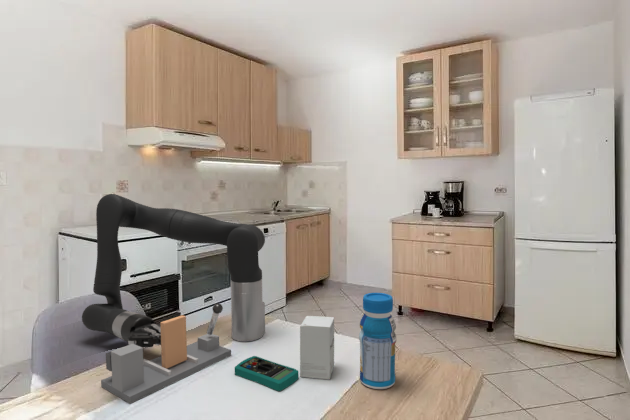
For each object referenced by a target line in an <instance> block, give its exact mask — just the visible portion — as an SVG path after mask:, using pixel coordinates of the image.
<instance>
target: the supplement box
mask: <svg viewBox="0 0 630 420" xmlns="http://www.w3.org/2000/svg"><path fill="white" fill-rule="evenodd" d="M299 342H300V343H299V350H300V351H299V366H300V367H299V372H300V373H299V375H300V377H299V378H310V379H319V380H330V379H331V376H332V372H333V370H334V367H335V317H334V316H322V315H321V316H318V315H316V316H315V315H306V316H305V317H304V319H303V321H302V323H301V324H300V325H299Z"/></svg>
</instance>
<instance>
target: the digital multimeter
mask: <svg viewBox="0 0 630 420" xmlns="http://www.w3.org/2000/svg"><path fill="white" fill-rule="evenodd" d="M234 375H235V376H237V377H240V378H244V379H246V380H249V381H251V382H254V383H256V384H259V385H262V386H264V387H267V388H269V389H271V390H273V391H277V392H281V391H283V390H284V389H286V388H288V387H290V386H291V385H292V384H294V383H295V382H296V381H297V380H298V379H299V378H300V377H299V370H298V369H296V368H294V367H292V366H291V367H290V366H287V365H283V364H280V363H278V362H274V361H272V360H268V359H266V358H263V357H260V356H257V355H253V356H250V357H247V358H245V359H244V360H242V361H241V362H239V363H237V365H235V366H234Z"/></svg>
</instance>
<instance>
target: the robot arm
mask: <svg viewBox="0 0 630 420" xmlns="http://www.w3.org/2000/svg"><path fill="white" fill-rule="evenodd" d="M95 214H96V216H95V218H96V243H97V244H96V250H97V252H96V255H97V256H96V267H95V273H94V279H93V281H94V282H93V283H94V284H93V289H92V290H93V293H94V294H95V295H98V296H102V297H105V299H106V302H107V303H92V304H89V305H87V306H86V307H85V308H84V309H83V311H82V314H81V321H82V324H83V325H84V326H85V328H87V329H88V330H90V331H96V332H103V333H108V334H112V335H113V336H116V337H117V338H118V339H121V340H122V341H125V342H127V343H128V344H127V345H130V344H135V345H137V346H140V347H142V348H152V347H154V345H155V346H161V325H160V324H159V323H156V322H155V321H154V319H152V317H150V316H147V315H144V314H141V313H138V312H134V311H130V310H129V311H128V310H127V309H124V308H123V303H122V295H121V282H122V273H123V263H122V256H121V252H120V248H119V247H120V246H119V230H120V228H127V229H128V228H130V229H136V230H137V229H138V230H145V231H149V232H151V233H154V234H156V235H159V236H162V237H163V238H167V239H171V240H174V241H179V242H183V243H190V244H215V245H221V246H226V257H227V268H228V272H229V275H230V306H231V307H230V311H231V313H230V314H231V319H230V321H231V338H232V339H233V341H234V340H235V341H238V342H252V341H257V340H259V339H261V338H262V337H264V336H263V335H264V334H265V333H266V306H265V305H266V302H264V301H263V270H262V269H261V268H260V264H259V251H261V250H262V249H263V248H264V245H265V243H266V238H265V234H264V232H263V230H261V228H259V227H258V226H256V225H254V224H251V223H250V224H249V223H239V222H238V223H237V222H230V221H225V220H220V219H217V218H213V217H210V216H207V215H203V214H199V213H195V212H192V211H187V210H183V209H177V208H167V207H166V208H158V207H153V206H148V205H145V204H142V203H139V202H137V201H133V200H131V199H129V198H126V197H125V196H121V195H119V194H115V193H108V194H105V195H104V196H103V197H101V198H100V199H99V201H98V203H97V204H96V211H95Z"/></svg>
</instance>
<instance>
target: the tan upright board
mask: <svg viewBox="0 0 630 420" xmlns="http://www.w3.org/2000/svg"><path fill="white" fill-rule="evenodd" d="M159 323H160V325H161V345H160V350H161V356H162V367H164V368H166V369H167V368H169V367H171V366H174V365H176V364H178V363H181V362H183V361H185V360H187V345H188V343H187V342H188V341H187V316H185V315H184V314H183V315H182V314H181V315H179V316H176V317H173V318H170V319H166V320H163V321H161V322H159Z"/></svg>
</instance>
